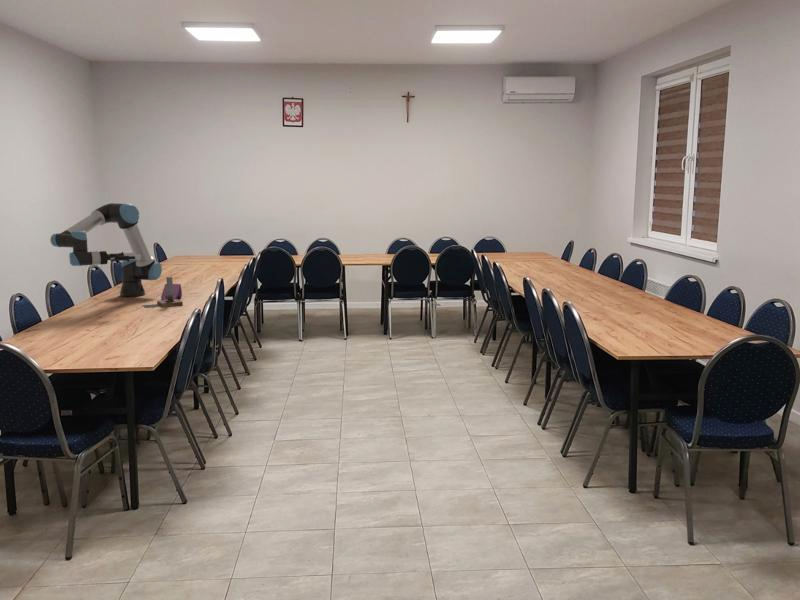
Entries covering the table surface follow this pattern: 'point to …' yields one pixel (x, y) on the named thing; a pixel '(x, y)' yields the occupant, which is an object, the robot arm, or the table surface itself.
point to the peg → (169, 289)
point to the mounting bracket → (176, 292)
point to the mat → (150, 306)
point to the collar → (169, 303)
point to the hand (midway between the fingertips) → (138, 256)
